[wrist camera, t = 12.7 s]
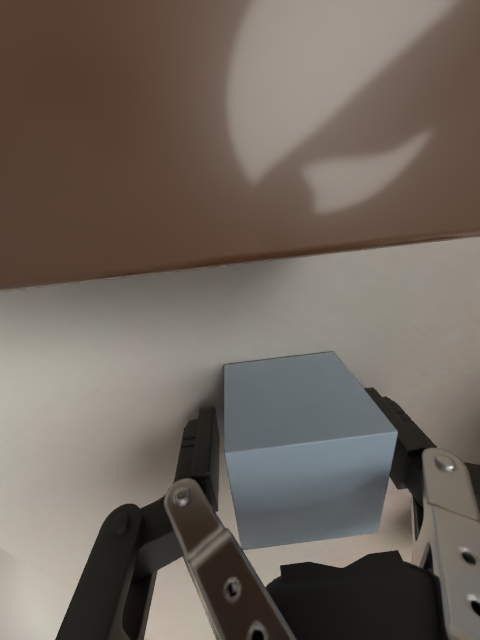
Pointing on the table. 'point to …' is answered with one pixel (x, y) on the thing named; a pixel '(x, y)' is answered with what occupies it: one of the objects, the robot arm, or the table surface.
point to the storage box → (231, 132)
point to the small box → (303, 451)
